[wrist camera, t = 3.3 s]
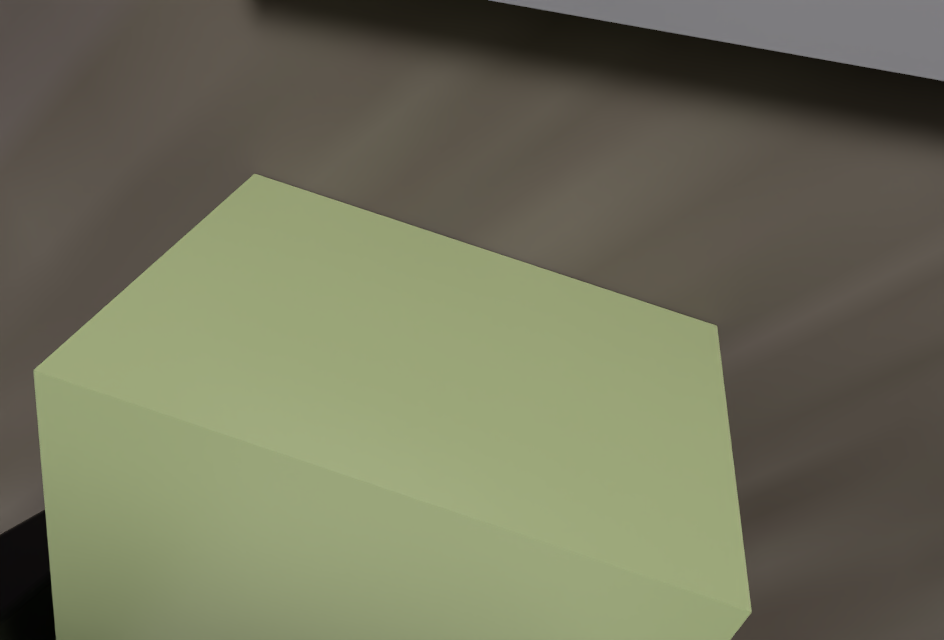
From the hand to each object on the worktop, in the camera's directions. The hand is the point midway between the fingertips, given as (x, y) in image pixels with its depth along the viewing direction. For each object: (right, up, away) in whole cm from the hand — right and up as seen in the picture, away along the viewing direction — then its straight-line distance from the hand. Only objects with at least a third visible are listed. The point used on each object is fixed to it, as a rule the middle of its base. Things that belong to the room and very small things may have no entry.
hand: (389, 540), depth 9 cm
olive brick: (0, +1, +1) cm, 1 cm away
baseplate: (+9, +11, -8) cm, 16 cm away
